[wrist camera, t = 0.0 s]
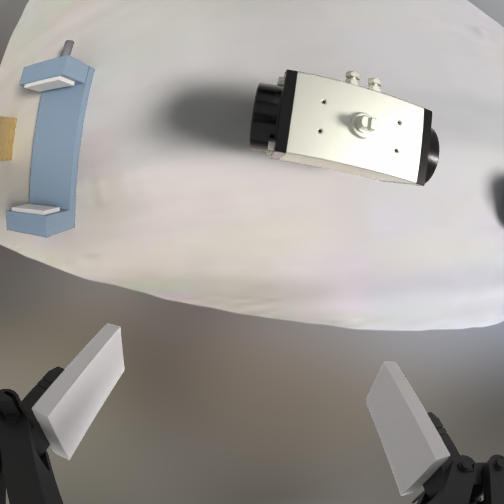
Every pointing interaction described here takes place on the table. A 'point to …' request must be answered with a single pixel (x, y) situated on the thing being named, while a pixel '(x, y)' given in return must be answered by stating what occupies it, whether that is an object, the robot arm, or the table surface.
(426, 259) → the table surface
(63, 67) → the free jaw
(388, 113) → the white pneumatic actuator
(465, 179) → the table surface
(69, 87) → the vise
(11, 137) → the wooden block
